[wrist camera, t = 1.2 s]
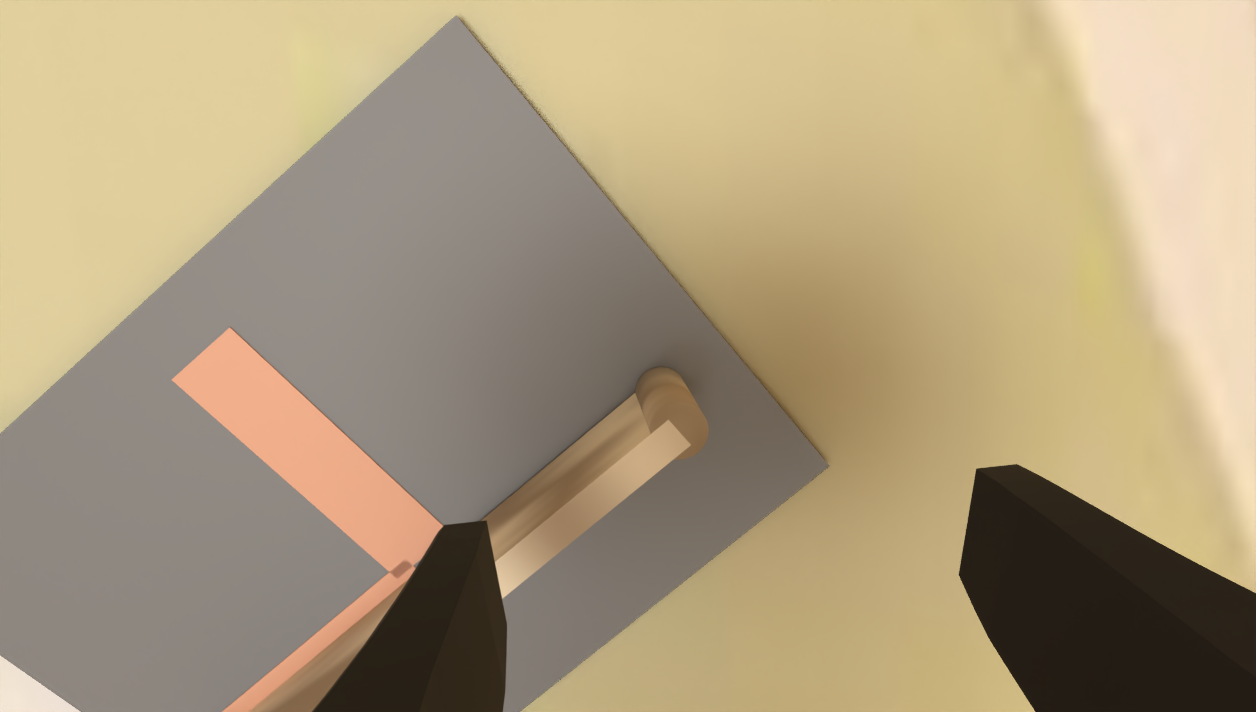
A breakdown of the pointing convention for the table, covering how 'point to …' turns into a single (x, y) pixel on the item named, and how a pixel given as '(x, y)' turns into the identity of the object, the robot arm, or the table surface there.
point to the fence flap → (595, 475)
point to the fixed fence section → (325, 666)
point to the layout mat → (369, 414)
